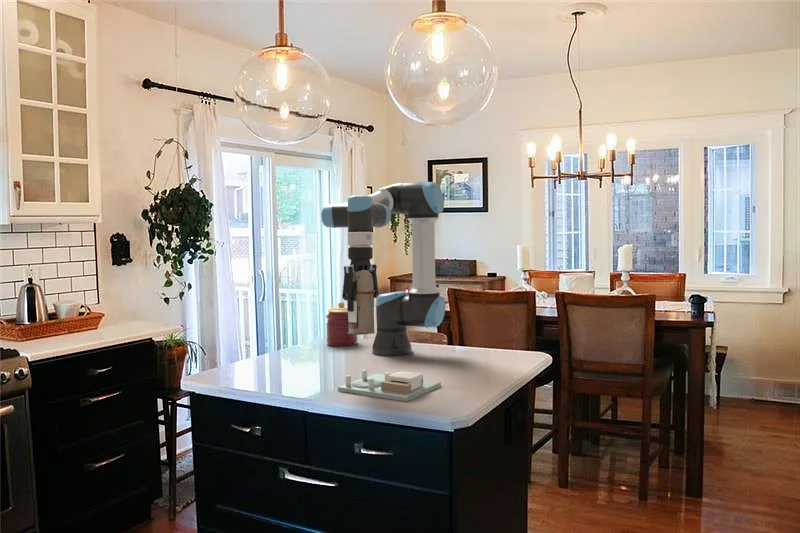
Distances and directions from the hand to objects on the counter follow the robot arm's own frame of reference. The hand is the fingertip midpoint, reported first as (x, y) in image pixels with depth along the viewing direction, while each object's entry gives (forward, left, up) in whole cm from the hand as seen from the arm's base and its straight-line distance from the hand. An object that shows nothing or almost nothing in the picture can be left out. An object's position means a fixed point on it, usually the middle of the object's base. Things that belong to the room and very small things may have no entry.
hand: (361, 320), depth 202 cm
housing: (+16, 0, -19) cm, 25 cm away
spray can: (0, 0, -4) cm, 4 cm away
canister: (-48, +52, -20) cm, 74 cm away
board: (+10, 0, -20) cm, 22 cm away
